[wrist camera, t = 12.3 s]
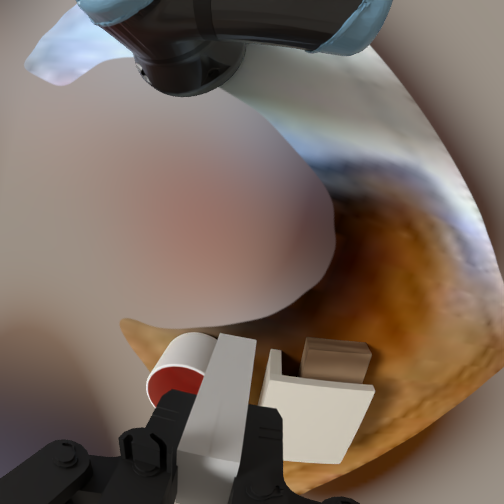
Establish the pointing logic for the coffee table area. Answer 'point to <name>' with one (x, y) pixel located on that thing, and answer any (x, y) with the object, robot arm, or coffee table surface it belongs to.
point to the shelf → (314, 413)
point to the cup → (181, 366)
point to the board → (334, 360)
